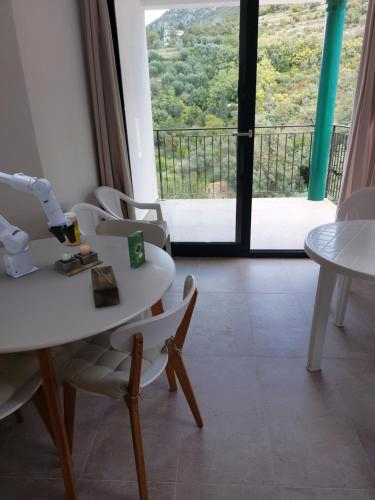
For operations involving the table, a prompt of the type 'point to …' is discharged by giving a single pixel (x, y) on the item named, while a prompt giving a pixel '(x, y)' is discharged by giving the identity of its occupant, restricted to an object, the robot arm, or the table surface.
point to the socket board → (77, 264)
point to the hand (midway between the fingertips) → (68, 242)
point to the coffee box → (136, 248)
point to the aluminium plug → (66, 257)
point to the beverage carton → (104, 286)
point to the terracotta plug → (84, 250)
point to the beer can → (73, 218)
